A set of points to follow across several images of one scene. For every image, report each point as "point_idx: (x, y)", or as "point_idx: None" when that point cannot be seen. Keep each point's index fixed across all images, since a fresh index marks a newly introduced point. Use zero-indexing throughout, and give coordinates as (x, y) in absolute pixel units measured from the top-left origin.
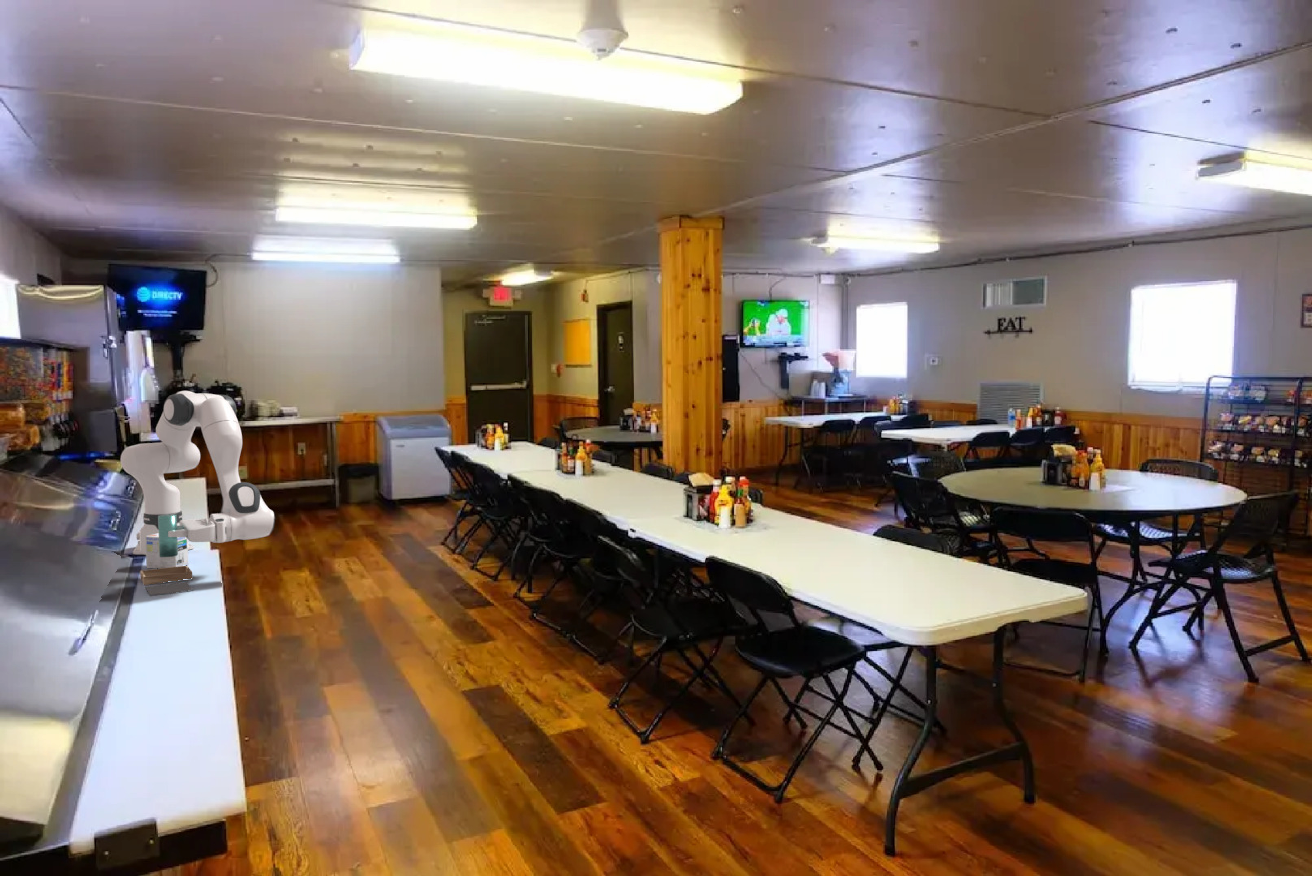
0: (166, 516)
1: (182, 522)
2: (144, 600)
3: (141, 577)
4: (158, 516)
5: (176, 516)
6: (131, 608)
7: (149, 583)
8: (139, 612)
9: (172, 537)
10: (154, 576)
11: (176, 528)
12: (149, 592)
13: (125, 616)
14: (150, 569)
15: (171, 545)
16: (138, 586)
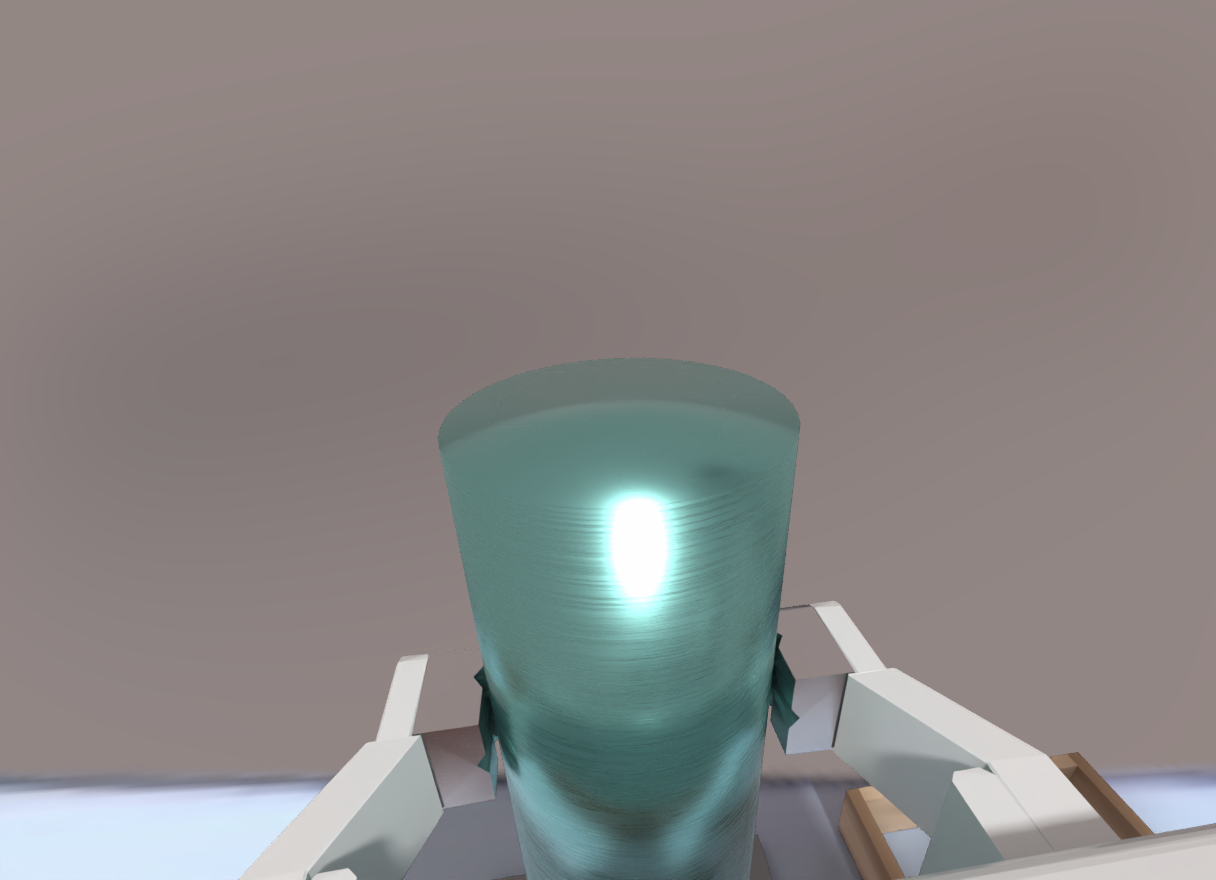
0: (505, 411)
1: (1193, 846)
2: None
3: None
4: (578, 362)
5: (569, 535)
6: (248, 791)
7: (858, 860)
8: (104, 842)
9: (509, 785)
10: (884, 871)
11: (572, 752)
12: None
13: (103, 774)
14: (1140, 823)
15: (520, 844)
16: (807, 793)
